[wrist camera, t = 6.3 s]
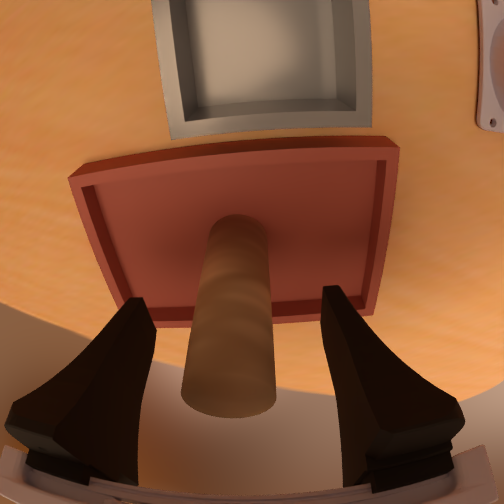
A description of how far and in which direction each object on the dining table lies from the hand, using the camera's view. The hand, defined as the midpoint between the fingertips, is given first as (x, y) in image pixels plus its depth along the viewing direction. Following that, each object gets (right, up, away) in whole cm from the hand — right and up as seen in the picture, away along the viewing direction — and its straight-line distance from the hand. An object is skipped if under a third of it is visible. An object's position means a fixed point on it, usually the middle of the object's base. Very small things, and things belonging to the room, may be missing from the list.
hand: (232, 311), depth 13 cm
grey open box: (+1, +11, -1) cm, 12 cm away
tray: (0, +3, +5) cm, 6 cm away
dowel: (0, +3, +4) cm, 5 cm away
